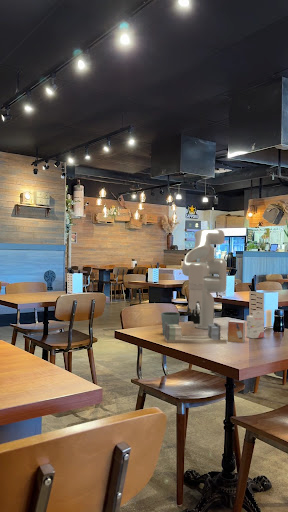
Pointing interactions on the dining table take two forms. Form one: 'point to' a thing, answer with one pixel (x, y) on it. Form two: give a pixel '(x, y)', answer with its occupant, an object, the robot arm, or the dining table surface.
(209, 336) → the bookshelf
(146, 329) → the dining table surface
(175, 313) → the grey green cup
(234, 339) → the small box
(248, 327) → the ink cartridge box
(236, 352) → the dining table surface
